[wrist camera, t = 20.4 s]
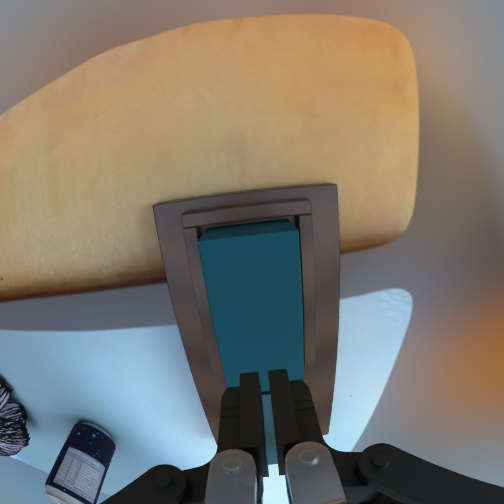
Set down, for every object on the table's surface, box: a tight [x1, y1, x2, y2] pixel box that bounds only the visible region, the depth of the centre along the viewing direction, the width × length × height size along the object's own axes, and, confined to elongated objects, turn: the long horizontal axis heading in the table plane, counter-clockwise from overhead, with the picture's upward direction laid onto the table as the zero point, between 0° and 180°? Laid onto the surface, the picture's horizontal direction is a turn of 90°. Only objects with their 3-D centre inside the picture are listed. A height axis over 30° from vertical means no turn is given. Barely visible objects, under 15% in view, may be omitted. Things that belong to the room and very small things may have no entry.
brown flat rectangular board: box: [153, 183, 340, 465], centre depth 18 cm, size 23×11×4 cm, turn 6°
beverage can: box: [45, 422, 116, 504], centre depth 18 cm, size 6×6×12 cm
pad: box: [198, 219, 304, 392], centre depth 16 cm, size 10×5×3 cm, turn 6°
